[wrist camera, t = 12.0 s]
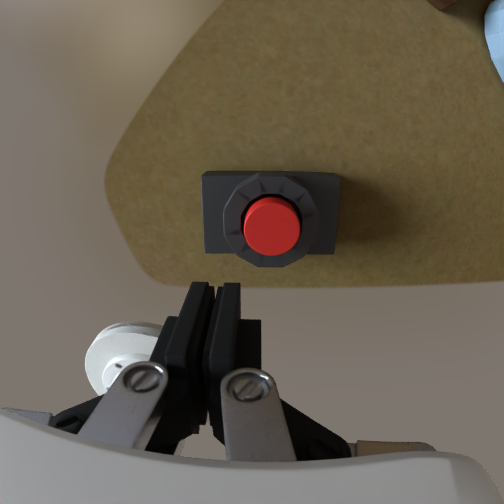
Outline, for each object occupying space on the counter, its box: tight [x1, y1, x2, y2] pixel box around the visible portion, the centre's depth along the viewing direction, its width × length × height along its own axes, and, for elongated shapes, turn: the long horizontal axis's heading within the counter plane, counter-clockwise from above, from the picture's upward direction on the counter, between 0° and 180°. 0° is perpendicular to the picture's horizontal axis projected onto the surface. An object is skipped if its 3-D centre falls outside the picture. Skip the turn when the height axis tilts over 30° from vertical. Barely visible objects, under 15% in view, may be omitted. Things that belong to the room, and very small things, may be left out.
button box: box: [201, 171, 341, 267], centre depth 23 cm, size 10×6×4 cm, turn 90°
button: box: [244, 197, 300, 256], centre depth 21 cm, size 4×4×2 cm
